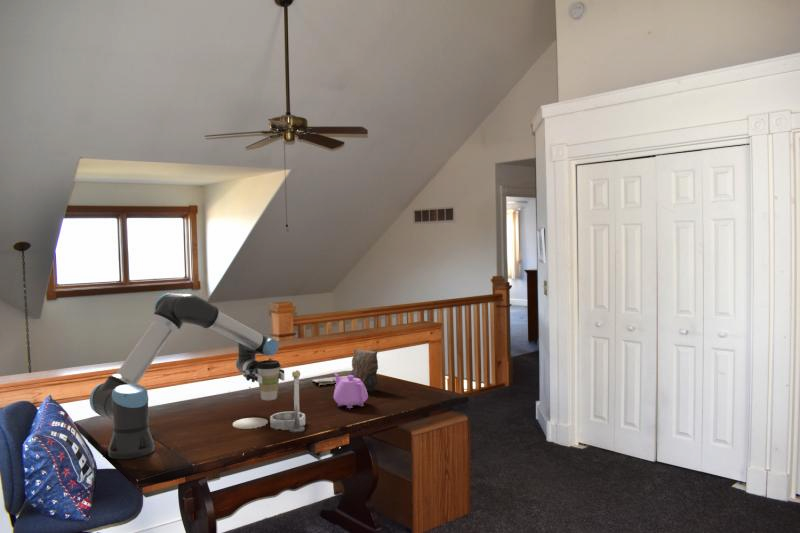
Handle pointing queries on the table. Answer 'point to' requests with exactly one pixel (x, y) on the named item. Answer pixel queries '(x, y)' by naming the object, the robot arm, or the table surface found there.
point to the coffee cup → (268, 378)
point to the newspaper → (327, 380)
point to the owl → (365, 367)
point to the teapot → (350, 391)
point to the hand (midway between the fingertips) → (272, 378)
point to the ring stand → (290, 413)
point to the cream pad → (250, 423)
